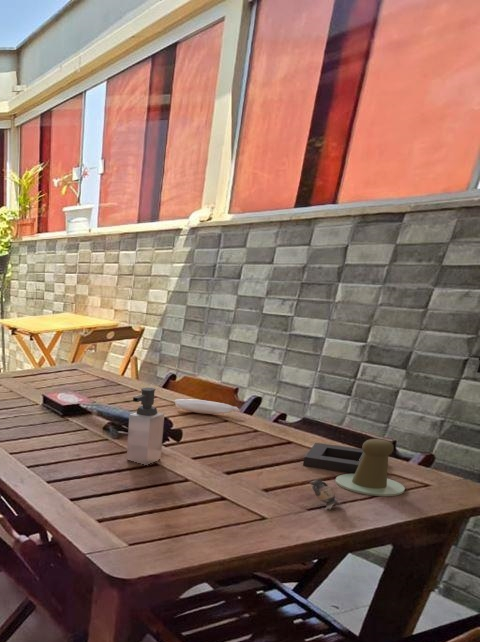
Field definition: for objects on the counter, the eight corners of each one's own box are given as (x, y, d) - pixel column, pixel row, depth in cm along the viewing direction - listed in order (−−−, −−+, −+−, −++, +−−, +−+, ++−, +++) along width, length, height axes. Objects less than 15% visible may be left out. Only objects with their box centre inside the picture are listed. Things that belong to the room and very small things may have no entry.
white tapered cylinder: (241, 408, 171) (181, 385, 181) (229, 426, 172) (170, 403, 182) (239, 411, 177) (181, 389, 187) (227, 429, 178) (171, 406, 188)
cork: (349, 484, 119) (359, 442, 115) (353, 476, 122) (363, 434, 119) (384, 490, 114) (396, 446, 111) (388, 481, 118) (399, 439, 114)
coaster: (407, 482, 118) (407, 480, 117) (400, 500, 110) (401, 498, 110) (340, 472, 126) (340, 469, 126) (330, 488, 119) (331, 485, 119)
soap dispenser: (121, 462, 148) (125, 391, 140) (140, 454, 151) (145, 385, 144) (141, 468, 142) (146, 394, 135) (160, 460, 146) (166, 388, 138)
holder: (378, 459, 130) (380, 451, 129) (370, 476, 122) (372, 467, 122) (313, 450, 140) (315, 442, 139) (302, 465, 132) (304, 456, 131)
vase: (299, 502, 115) (303, 479, 113) (317, 497, 116) (322, 474, 114) (323, 511, 110) (329, 487, 108) (343, 507, 111) (348, 483, 109)
